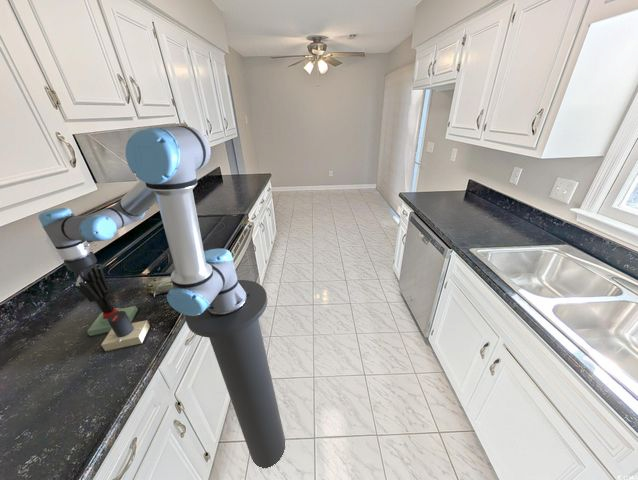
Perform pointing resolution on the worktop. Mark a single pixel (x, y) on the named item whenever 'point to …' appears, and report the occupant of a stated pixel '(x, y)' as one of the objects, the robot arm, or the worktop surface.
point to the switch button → (109, 313)
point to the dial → (120, 324)
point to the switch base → (103, 325)
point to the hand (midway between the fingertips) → (108, 311)
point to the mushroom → (160, 286)
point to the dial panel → (126, 337)
